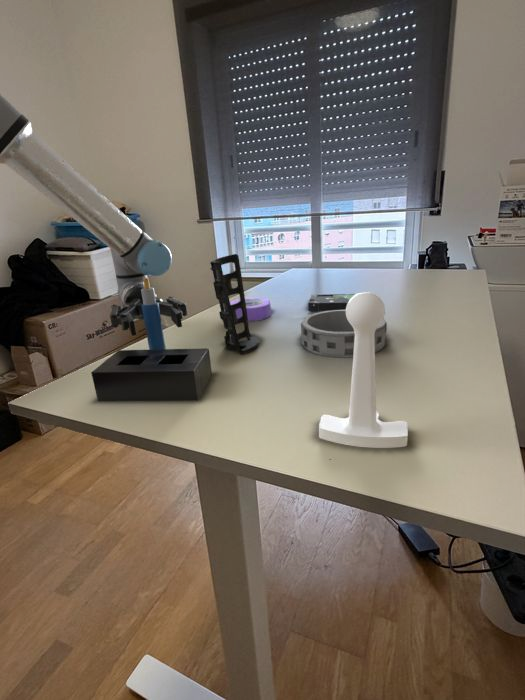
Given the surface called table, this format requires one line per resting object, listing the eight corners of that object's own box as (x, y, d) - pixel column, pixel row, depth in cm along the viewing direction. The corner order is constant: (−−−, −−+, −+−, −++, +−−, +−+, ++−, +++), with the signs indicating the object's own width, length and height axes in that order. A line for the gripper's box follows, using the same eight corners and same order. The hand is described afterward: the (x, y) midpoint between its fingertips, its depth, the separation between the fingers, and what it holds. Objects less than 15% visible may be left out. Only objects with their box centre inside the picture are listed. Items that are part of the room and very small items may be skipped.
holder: (258, 353, 86) (241, 258, 79) (223, 358, 86) (203, 264, 80) (260, 336, 96) (245, 251, 89) (229, 341, 97) (211, 257, 90)
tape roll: (274, 319, 110) (273, 305, 109) (231, 323, 108) (230, 309, 107) (267, 308, 121) (266, 295, 119) (228, 312, 119) (227, 299, 118)
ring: (291, 335, 96) (290, 315, 94) (361, 325, 99) (361, 305, 98) (319, 363, 79) (319, 339, 77) (403, 349, 83) (404, 326, 81)
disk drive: (308, 312, 114) (362, 311, 111) (307, 303, 113) (362, 301, 110) (311, 303, 123) (361, 302, 120) (310, 294, 122) (361, 292, 119)
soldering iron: (149, 368, 83) (134, 280, 76) (155, 362, 86) (140, 277, 79) (165, 367, 82) (150, 279, 76) (170, 361, 85) (156, 276, 79)
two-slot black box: (198, 404, 66) (193, 370, 64) (98, 404, 69) (91, 372, 67) (212, 378, 76) (208, 348, 74) (124, 379, 78) (118, 350, 76)
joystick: (317, 446, 53) (314, 297, 46) (325, 417, 60) (323, 283, 53) (407, 456, 50) (418, 297, 43) (404, 424, 57) (414, 282, 50)
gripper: (185, 309, 101) (211, 333, 81) (96, 323, 94) (102, 354, 74) (181, 279, 98) (207, 296, 79) (89, 291, 91) (93, 314, 71)
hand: (156, 324), depth 76 cm, fingers open, 8 cm apart
